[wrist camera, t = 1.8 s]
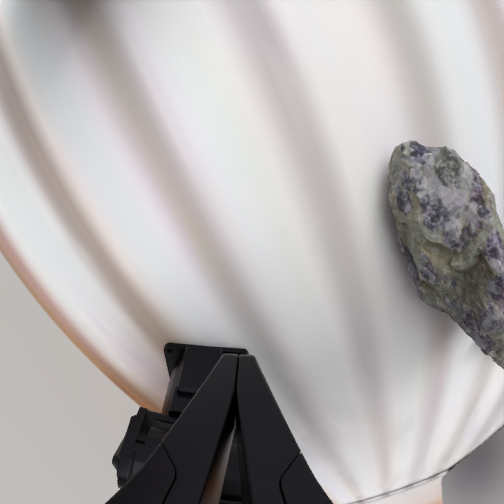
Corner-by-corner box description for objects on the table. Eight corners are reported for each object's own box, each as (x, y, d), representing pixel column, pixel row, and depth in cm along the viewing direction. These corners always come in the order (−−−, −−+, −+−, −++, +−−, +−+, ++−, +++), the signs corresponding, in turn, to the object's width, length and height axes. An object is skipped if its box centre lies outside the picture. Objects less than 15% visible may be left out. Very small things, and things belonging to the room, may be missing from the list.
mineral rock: (373, 133, 15) (486, 193, 7) (510, 130, 14) (622, 181, 5) (376, 315, 22) (419, 433, 13) (490, 288, 20) (552, 374, 11)
